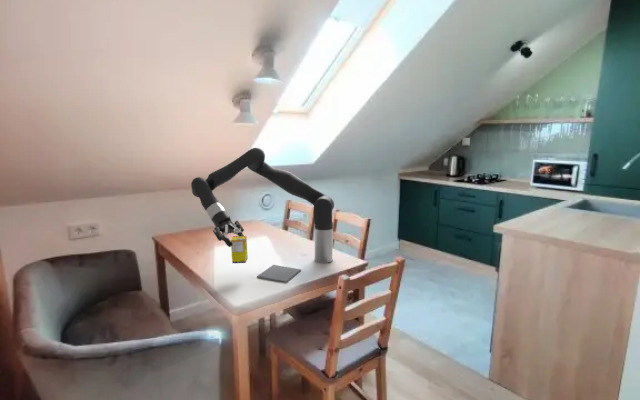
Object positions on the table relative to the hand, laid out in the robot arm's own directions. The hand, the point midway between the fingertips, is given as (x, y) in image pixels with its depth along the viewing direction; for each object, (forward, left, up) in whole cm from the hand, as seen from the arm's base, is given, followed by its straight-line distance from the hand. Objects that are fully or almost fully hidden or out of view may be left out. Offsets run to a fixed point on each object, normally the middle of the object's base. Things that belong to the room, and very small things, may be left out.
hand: (237, 243), depth 164 cm
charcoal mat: (-11, +15, -16) cm, 25 cm away
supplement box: (0, +1, -8) cm, 8 cm away
